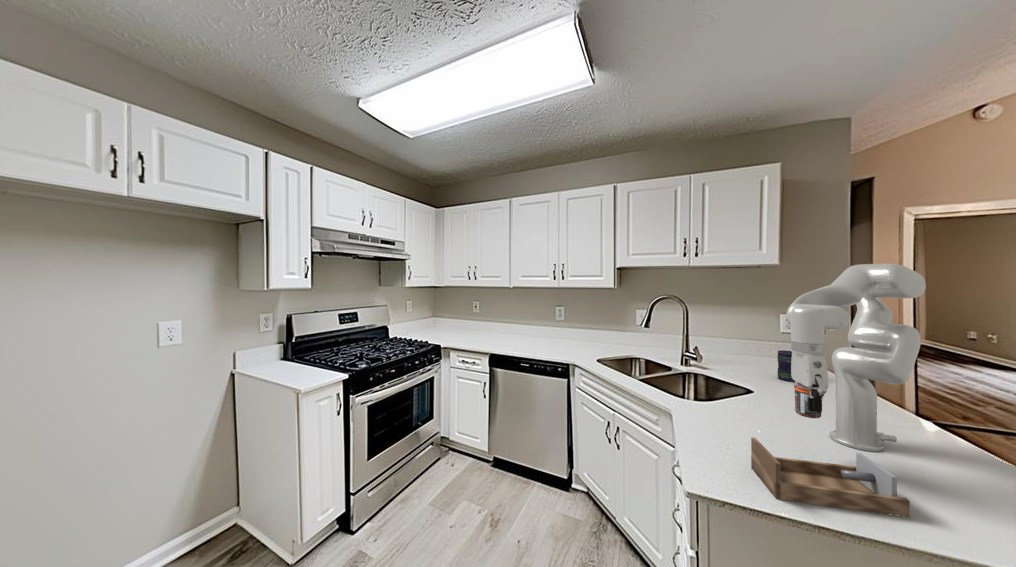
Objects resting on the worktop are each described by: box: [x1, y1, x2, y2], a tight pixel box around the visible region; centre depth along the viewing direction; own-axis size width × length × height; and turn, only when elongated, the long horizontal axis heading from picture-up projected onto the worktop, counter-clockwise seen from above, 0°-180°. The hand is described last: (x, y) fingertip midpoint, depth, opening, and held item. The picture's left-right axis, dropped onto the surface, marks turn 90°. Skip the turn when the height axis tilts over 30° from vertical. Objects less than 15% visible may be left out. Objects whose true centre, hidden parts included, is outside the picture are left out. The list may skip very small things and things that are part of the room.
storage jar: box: [776, 349, 794, 383], centre depth 178 cm, size 10×10×15 cm
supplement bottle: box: [794, 383, 822, 419], centre depth 100 cm, size 6×6×11 cm
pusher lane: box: [750, 437, 911, 518], centre depth 86 cm, size 26×14×9 cm, turn 74°
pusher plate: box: [841, 452, 898, 497], centre depth 84 cm, size 7×11×7 cm, turn 164°
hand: (807, 406), depth 100 cm, fingers closed on supplement bottle, 6 cm apart
